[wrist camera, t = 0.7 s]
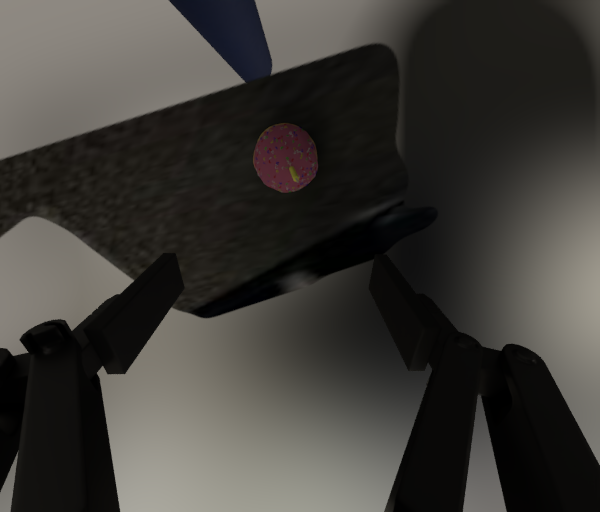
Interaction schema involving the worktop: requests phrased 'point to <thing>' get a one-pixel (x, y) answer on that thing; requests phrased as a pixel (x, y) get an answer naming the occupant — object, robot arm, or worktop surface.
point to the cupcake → (285, 157)
